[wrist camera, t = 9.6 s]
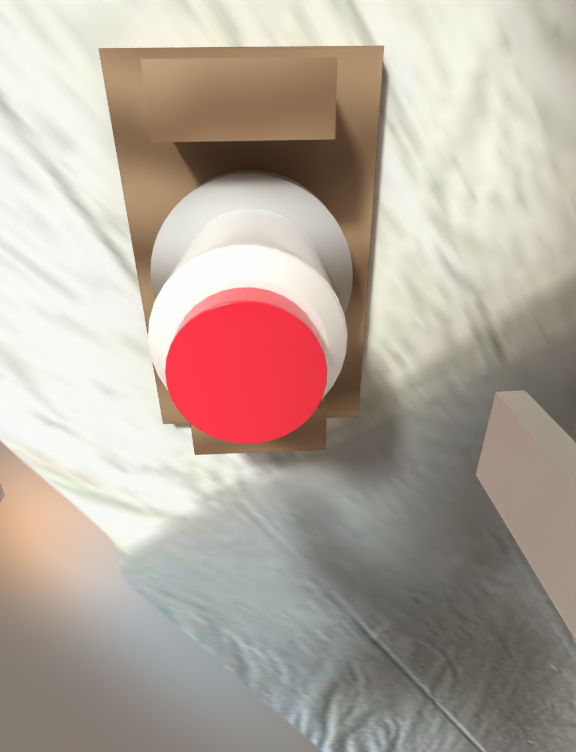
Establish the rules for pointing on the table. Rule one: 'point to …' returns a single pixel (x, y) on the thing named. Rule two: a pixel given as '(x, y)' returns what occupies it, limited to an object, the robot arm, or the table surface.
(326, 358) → the pill bottle
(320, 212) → the cardboard packaging tray
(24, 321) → the table surface
